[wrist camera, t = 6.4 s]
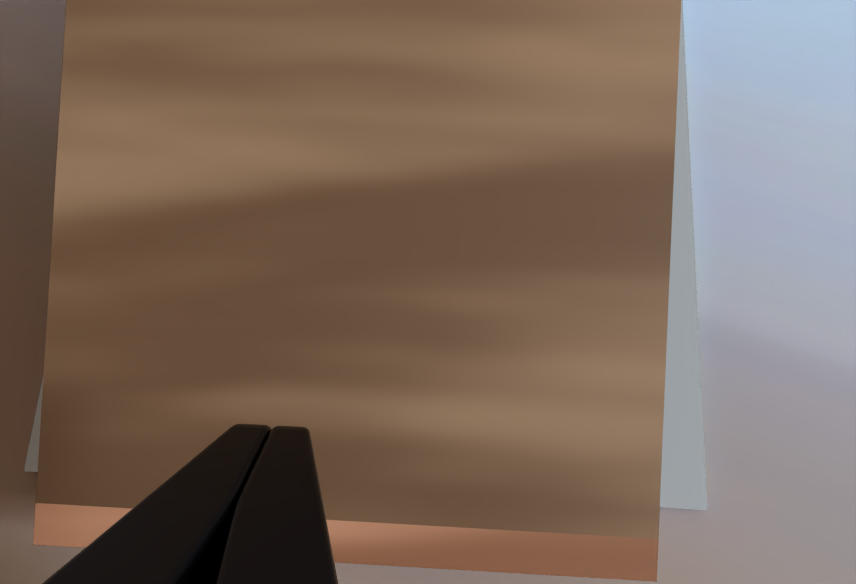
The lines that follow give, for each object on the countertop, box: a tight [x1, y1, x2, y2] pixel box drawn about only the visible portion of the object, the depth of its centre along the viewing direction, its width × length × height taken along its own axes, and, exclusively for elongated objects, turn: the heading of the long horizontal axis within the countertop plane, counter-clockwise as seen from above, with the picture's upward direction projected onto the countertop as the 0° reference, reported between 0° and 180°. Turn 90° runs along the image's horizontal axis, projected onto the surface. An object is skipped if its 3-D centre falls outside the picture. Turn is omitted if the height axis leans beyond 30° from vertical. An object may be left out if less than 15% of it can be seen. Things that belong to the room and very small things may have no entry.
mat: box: [24, 0, 707, 510], centre depth 19 cm, size 16×16×1 cm
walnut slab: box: [33, 0, 681, 581], centre depth 16 cm, size 3×12×14 cm
